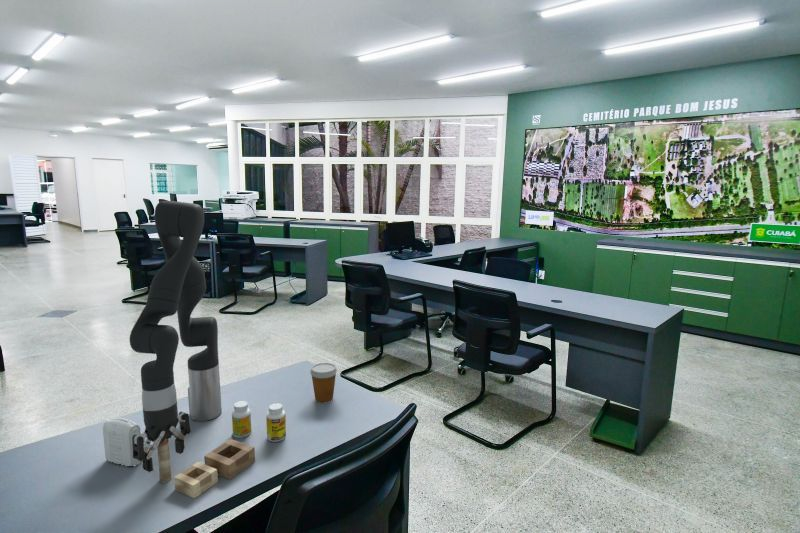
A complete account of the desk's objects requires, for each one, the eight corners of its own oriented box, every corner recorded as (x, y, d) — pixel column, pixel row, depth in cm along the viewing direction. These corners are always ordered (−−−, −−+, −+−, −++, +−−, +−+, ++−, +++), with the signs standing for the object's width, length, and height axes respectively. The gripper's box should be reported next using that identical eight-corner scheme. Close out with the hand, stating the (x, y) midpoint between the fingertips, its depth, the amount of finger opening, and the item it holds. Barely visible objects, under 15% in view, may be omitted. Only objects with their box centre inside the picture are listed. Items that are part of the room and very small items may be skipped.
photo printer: (145, 460, 120) (142, 418, 118) (132, 469, 116) (127, 426, 114) (117, 453, 123) (113, 412, 121) (103, 461, 119) (98, 420, 117)
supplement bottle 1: (231, 438, 131) (229, 408, 129) (235, 429, 136) (233, 400, 135) (249, 437, 132) (248, 407, 130) (252, 428, 137) (251, 399, 135)
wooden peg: (157, 481, 112) (153, 438, 110) (167, 474, 114) (163, 432, 112) (164, 484, 111) (160, 440, 109) (174, 478, 113) (170, 435, 111)
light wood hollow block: (175, 489, 109) (174, 476, 108) (198, 473, 115) (197, 461, 114) (194, 498, 106) (193, 485, 105) (217, 481, 112) (217, 469, 111)
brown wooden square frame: (205, 469, 117) (204, 455, 116) (231, 451, 125) (230, 438, 124) (229, 479, 113) (228, 465, 112) (255, 460, 121) (254, 447, 120)
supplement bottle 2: (270, 444, 128) (269, 412, 126) (264, 436, 133) (263, 404, 131) (288, 439, 131) (287, 407, 130) (282, 430, 136) (281, 400, 134)
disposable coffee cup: (335, 405, 152) (334, 373, 150) (308, 405, 152) (307, 372, 150) (339, 393, 161) (339, 362, 159) (313, 392, 162) (313, 361, 160)
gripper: (175, 388, 117) (179, 443, 119) (121, 411, 104) (127, 473, 107) (194, 393, 113) (198, 450, 116) (142, 418, 101) (148, 482, 103)
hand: (164, 461), depth 111 cm, fingers open, 8 cm apart
